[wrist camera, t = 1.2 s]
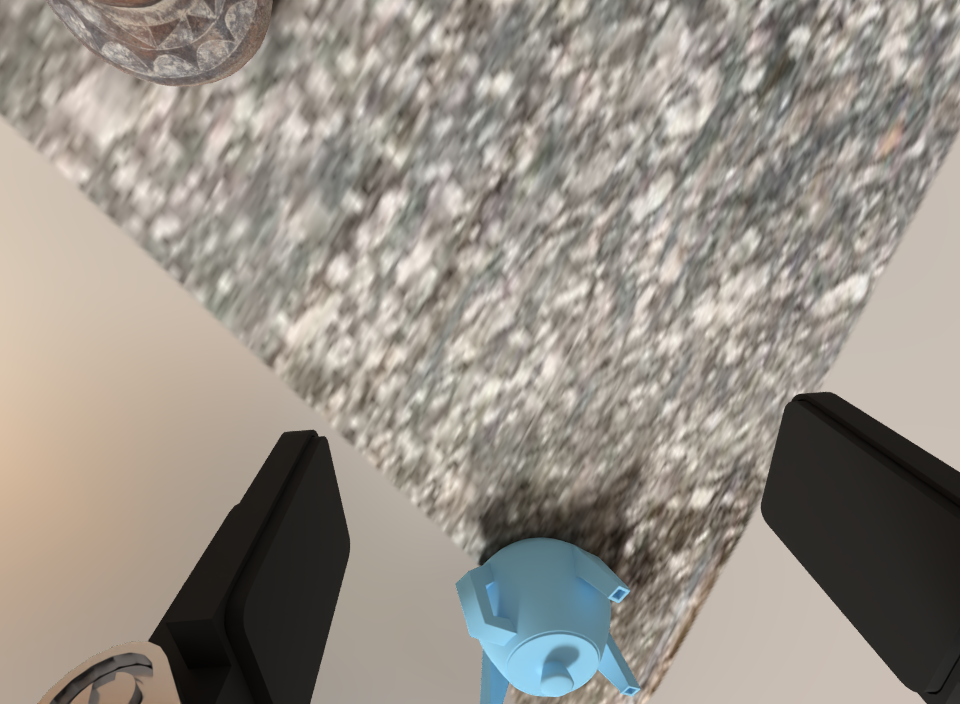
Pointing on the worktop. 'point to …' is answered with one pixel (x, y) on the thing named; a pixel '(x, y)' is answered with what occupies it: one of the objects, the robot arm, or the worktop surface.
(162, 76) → the pottery
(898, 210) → the worktop surface
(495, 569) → the teapot
